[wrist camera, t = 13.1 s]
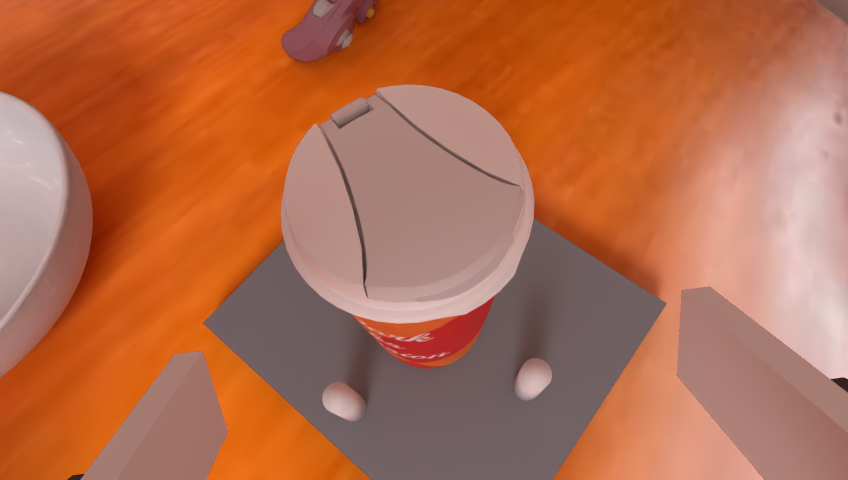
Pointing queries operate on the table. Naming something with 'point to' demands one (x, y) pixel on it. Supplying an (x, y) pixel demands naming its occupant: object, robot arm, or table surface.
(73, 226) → the serving bowl
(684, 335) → the robot arm
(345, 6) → the purple lumpy piece
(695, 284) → the table surface
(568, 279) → the plate
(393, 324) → the coffee cup
